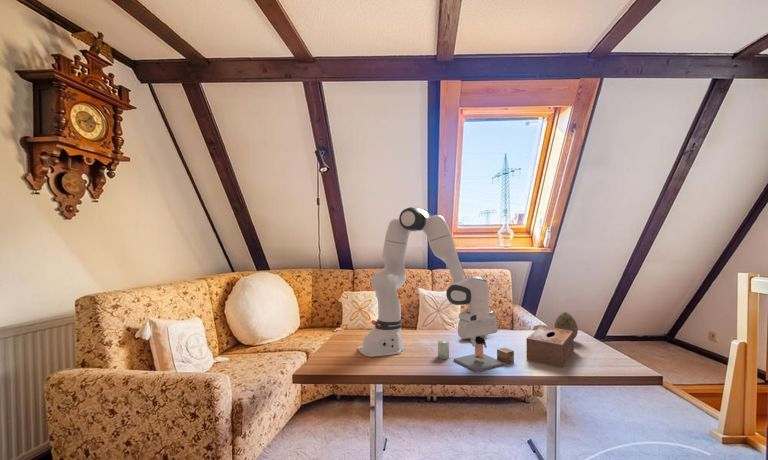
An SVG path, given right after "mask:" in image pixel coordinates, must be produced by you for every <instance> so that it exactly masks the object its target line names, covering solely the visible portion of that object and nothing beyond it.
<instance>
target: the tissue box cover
mask: <svg viewBox="0 0 768 460" xmlns="http://www.w3.org/2000/svg"><path fill="white" fill-rule="evenodd" d="M574 341H575V339H574V332H573V331H571V330H564V329H558V328H554V327H550V326H544V325H540V326H539V327H538V328H537V329H535V331H533V332H532V333H531V334H530V335H528V337H526V361H528V360H529V361H528V362H534V363H539V364H543V365H547V366H551V367H555V368H560V369H563V368H564V367H565V365H566V364H567V362H568V360H569V358H571V356H572V355H573V353H574V343H575V342H574Z"/></svg>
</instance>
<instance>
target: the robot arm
mask: <svg viewBox="0 0 768 460" xmlns="http://www.w3.org/2000/svg"><path fill="white" fill-rule="evenodd" d="M418 231H419V232H421V231H423V232H424V234H425V236H426V238H427V242H428V244H429V248H430V250H431V251H432V253H433V256H435V257H436V258H438V259H440V260H441V261H442V262H443V263H445V265H446V266H447V268H448V271H449V273H450V275H451V278H452V281H453V283H452V284H451V285H450V286H448V287H447V289H446V292H445V293H446V299H447V300H448V302H449V303H450V304H452V305H455V306H462V305H463V306H464V305H467V309H465V310H464V311H462V312H460V313H459V314H458V319H459V320H458V323H457V324H458V325H457V335H458V337H459V338H461V339H464V340H465V339H469V338H470V339H469V340H470V342H471V341H472V344H471V346H472V347H473V348H475V347H476V346H477V342H476V341H475V339H476V337H477V336H481V337H482V338H483V339H484V340H485V341H486V340H487V335H492V334H496V333H497V332H498V328H499V327H498V320H497V315H496V313H495V312H494V311H490V306H489V299H490V288H489V283H488V280H487V279H486V278H484V277H481V276H476V275H472V276H469V277H467V275H466V272H465V270H464V268H463V266H462V263H461V261H460V258H459V255H458V251H457V249H456V244H455V241H454V238H453V234H452V232H451V230H450V227H449V225H448V223H447V221H446V220H445V218H444V217H443V216H442V215H439V214H434V215H432V214H431V213H430V212H429V211H428V210H427V209H425V208H420V207H406V208H405V209H403V210H402V211H401V212H400V214H399V217H398V218H394V219H392V220H390V222H389V224H388V226H387V230H386V233H385V238H384V244H383V248H382V257H383V261H384V262H383V263H384V267H383V269H381V270H379V271H377V272H376V273H375V274H374V275H373V276H372V277H371V281H370V284H371V287H372V289H373V290H374V293H375V296H376V298H377V299H376V300H377V308H378V309H377V310H378V313H377V315H378V317H377V319H376V320H374V319H372V320H371V322H370V323H371V324H372V325H374V328H373V329H371V330H370V331H369V332H368V333H367V334H365V336H364V337H363V340H362V345H360V346H358V348H357V349H358V352H359V353H360V354H361V355H363V356H366V357H369V358H371V357H373V358H374V357H382V356H392V355H399V354H401V353H402V352H403V351H404V349H405V347H404V343H403V342H404V341H403V336H402V328H403V327H402V324H403V323H402V317H401V315H402V313H401V308H402V306H401V305H402V304H401V301H400V300H399V296H398V291H397V290H398V289H400V288H402V287H403V286H404V284H405V283H406V281H407V273H406V271H405V270H406V269H405V268H406V267H405V266H406V265H405V261H406V260H405V259H406V253H407V246H408V241H409V236H410V234H411V232H418ZM482 344H483V343H482ZM483 346H484V344H483Z"/></svg>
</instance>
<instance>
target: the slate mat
mask: <svg viewBox="0 0 768 460" xmlns="http://www.w3.org/2000/svg"><path fill="white" fill-rule="evenodd" d="M483 356H484V357H485V359H479V358H475V353H473V354H469V355H464V356H460V357H459V356H458V357H455V358H453V362H455V363H457V364H459V365H461V366H463V367H465V368H467V369H469V370H470V371H473V372H475V373H478V371H479V372H482V370H483V371H486V370H485V369H487V370H489V368H491V369H494V368H493V367H495V368H498V367H497V366H499V367H502V366H501V365H503V366H505V364H504V362H501V361H499V360H497V358H494V357H492V356H489V355H487V354H484V353H483Z"/></svg>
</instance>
